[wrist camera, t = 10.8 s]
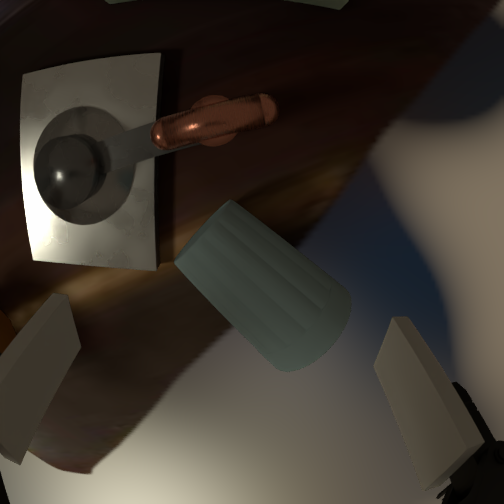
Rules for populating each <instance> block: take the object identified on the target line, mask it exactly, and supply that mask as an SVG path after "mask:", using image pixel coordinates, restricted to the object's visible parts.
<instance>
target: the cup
mask: <svg viewBox="0 0 504 504" xmlns="http://www.w3.org/2000/svg"><path fill="white" fill-rule="evenodd" d="M174 263H175V265H176V266H177V267H178V268H179V269H180V270H181V271H182V273H183V274H184V275H185V276H186V277H187V278H188V279H189V280H190V281H191V282H192V283H193V284H194V286H195V287H196V288H197V289H198V290H199V291H200V292H201V293H202V294H203V295H204V296H205V297H206V298H207V299H208V300H209V301H210V302H211V303H212V304H213V306H214V307H215V308H216V309H217V310H218V311H219V312H220V313H221V314H222V315H223V316H224V317H225V318H226V319H227V320H228V321H229V322H230V323H231V324H232V325H233V326H234V327H235V328H236V329H237V330H238V331H239V332H240V333H241V334H242V335H243V336H244V337H245V338H246V339H247V340H248V341H249V342H250V343H251V344H252V345H253V346H254V347H255V348H256V349H257V350H258V351H259V352H260V353H261V354H262V355H263V356H264V357H265V358H266V359H267V360H268V361H269V362H270V363H271V364H272V365H273V366H274V367H275V368H276V369H279V370H280V371H285V372H290V371H295V370H299V369H301V368H304V367H306V366H308V365H310V364H311V363H313V362H315V361H316V360H317V359H318V358H320V357H321V356H322V355H323V354H325V353H326V352H327V350H329V349H330V348H331V346H332V345H333V344H334V343H335V342H336V340H337V339H338V338H339V336H340V334H341V333H342V331H343V330H344V328H345V326H346V324H347V321H348V319H349V316H350V312H351V297H350V294H349V292H348V291H347V290H346V289H345V288H344V287H343V286H342V285H340V284H339V283H338V282H336V281H335V280H334V279H333V278H332V277H331V276H329V275H328V274H327V273H325V272H324V271H323V270H322V269H320V268H319V267H318V266H317V265H315V264H314V263H313V262H312V261H310V260H309V259H308V258H307V257H305V256H304V255H303V254H302V253H300V252H299V251H298V250H297V249H295V248H294V247H293V246H292V245H290V244H289V243H288V242H286V241H285V240H284V239H283V238H281V237H280V236H279V235H278V234H276V233H275V232H274V231H272V230H271V229H270V228H269V227H267V226H266V225H265V224H263V223H262V222H261V221H260V220H258V219H257V218H256V217H254V216H253V215H252V214H251V213H249V212H248V211H247V210H245V209H244V208H243V207H241V206H240V205H239V204H237V203H236V202H234V201H233V200H229V201H227V202H226V203H225V204H224V205H222V206H221V207H220V208H219V209H218V210H217V211H216V212H215V213H214V214H213V215H212V216H211V217H210V218H209V219H208V220H207V221H206V222H205V223H204V224H203V225H202V227H201V228H200V229H199V230H198V231H197V232H196V233H195V234H194V236H193V237H192V238H191V239H190V240H189V241H188V243H187V244H186V245H185V246H184V247H183V249H182V250H181V251H180V253H179V254H178V255H177V257H176V258H175V260H174Z"/></svg>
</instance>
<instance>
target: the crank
mask: <svg viewBox="0 0 504 504" xmlns="http://www.w3.org/2000/svg"><path fill="white" fill-rule="evenodd" d="M279 114H280V106H279V103H278V102H277V100H276V99H275V98H274V97H273V96H271V95H269V94H266V93H257V94H252V95H247V96H242V97H238V98H233V99H228V98H226V97H223V96H219V95H210V96H206V97H203V98H201V99H200V100H198V101H197V102H196V103H195V104H194V105H193V106H192V107H191V109H190V110H186V111H182V112H179V113H176V114H172V115H169V116H166V117H163V118H160V119H158V120H157V121H155V122H152V123H149V124H146V125H143V126H140V127H137V128H134V129H131V130H128V131H125V132H123V133H120V134H117V135H115V136H112V137H109V138H107V139H104V140H102V141H99V142H97V141H96V140H95V139H94V138H92V137H91V136H88V135H85V134H72V135H67V136H61V137H56V138H54V139H52V140H50V141H48V142H47V143H46V144H45V145H44V146H43V147H42V149H41V150H40V152H39V154H38V156H37V158H36V162H35V168H34V176H35V182H36V186H37V188H38V191H39V193H40V194H41V196H42V197H43V199H44V200H45V201H46V202H47V203H48V204H50V205H51V206H53V207H55V208H58V209H71V208H74V207H76V206H78V205H79V204H81V203H83V202H84V201H86V200H88V199H89V198H91V197H92V196H94V195H95V194H96V193H97V192H98V191H99V190H100V189H101V187H102V186H103V184H104V182H105V179H106V175H107V173H108V172H111V171H114V170H116V169H119V168H122V167H125V166H128V165H131V164H134V163H137V162H140V161H144V160H147V159H150V158H153V157H156V156H160V155H163V154H166V153H170V152H173V151H177V150H180V149H184V148H188V147H191V146H195V145H199V144H203V145H206V146H212V147H214V146H221V145H224V144H226V143H228V142H229V141H230V140H232V139H233V138H234V137H235V135H236V134H237V133H239V132H243V131H248V130H252V129H257V128H262V127H266V126H269V125H271V124H273V123H274V122H275V121H276V120H277V119H278V117H279Z"/></svg>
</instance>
